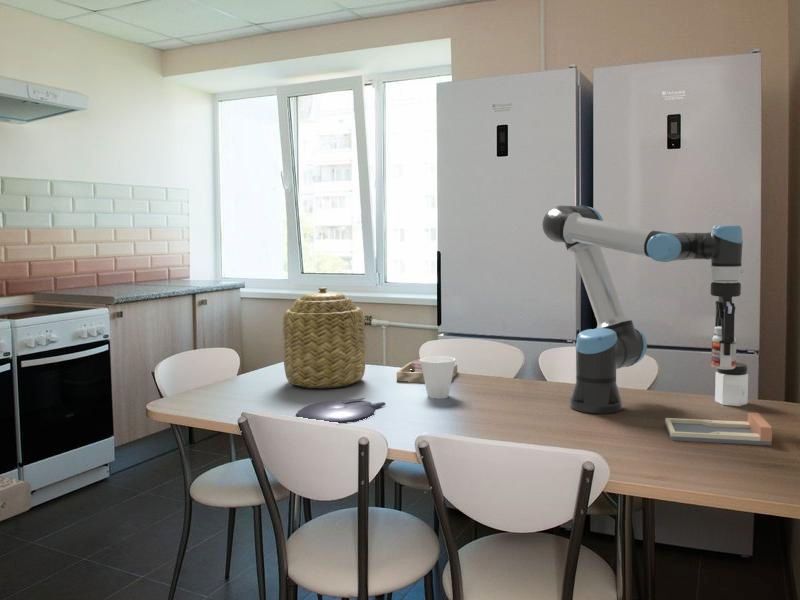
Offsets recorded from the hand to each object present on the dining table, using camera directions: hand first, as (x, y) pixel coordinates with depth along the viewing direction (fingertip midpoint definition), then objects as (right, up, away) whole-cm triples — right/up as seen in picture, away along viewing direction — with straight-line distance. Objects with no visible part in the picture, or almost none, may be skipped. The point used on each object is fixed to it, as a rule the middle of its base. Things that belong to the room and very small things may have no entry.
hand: (723, 364), depth 191 cm
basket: (-117, -13, +61) cm, 133 cm away
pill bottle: (0, -1, 0) cm, 1 cm away
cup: (-77, -14, +36) cm, 86 cm away
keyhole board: (-8, -17, -13) cm, 23 cm away
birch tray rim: (-80, -11, +66) cm, 104 cm away
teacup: (-82, -11, +66) cm, 106 cm away
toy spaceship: (-108, -17, +18) cm, 111 cm away
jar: (+11, -14, +19) cm, 26 cm away
